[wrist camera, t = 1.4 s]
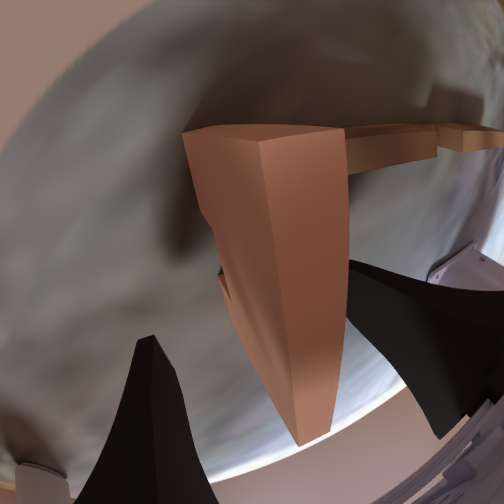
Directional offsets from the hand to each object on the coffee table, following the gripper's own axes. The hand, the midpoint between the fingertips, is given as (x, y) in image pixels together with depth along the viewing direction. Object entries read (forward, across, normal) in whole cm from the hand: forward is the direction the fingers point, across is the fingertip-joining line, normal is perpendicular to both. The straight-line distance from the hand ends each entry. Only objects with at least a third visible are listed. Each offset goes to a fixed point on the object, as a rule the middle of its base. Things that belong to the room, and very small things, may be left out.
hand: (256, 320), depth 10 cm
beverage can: (+3, +26, +16) cm, 31 cm away
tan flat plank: (+3, 0, -2) cm, 3 cm away
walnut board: (+3, -12, -5) cm, 13 cm away
